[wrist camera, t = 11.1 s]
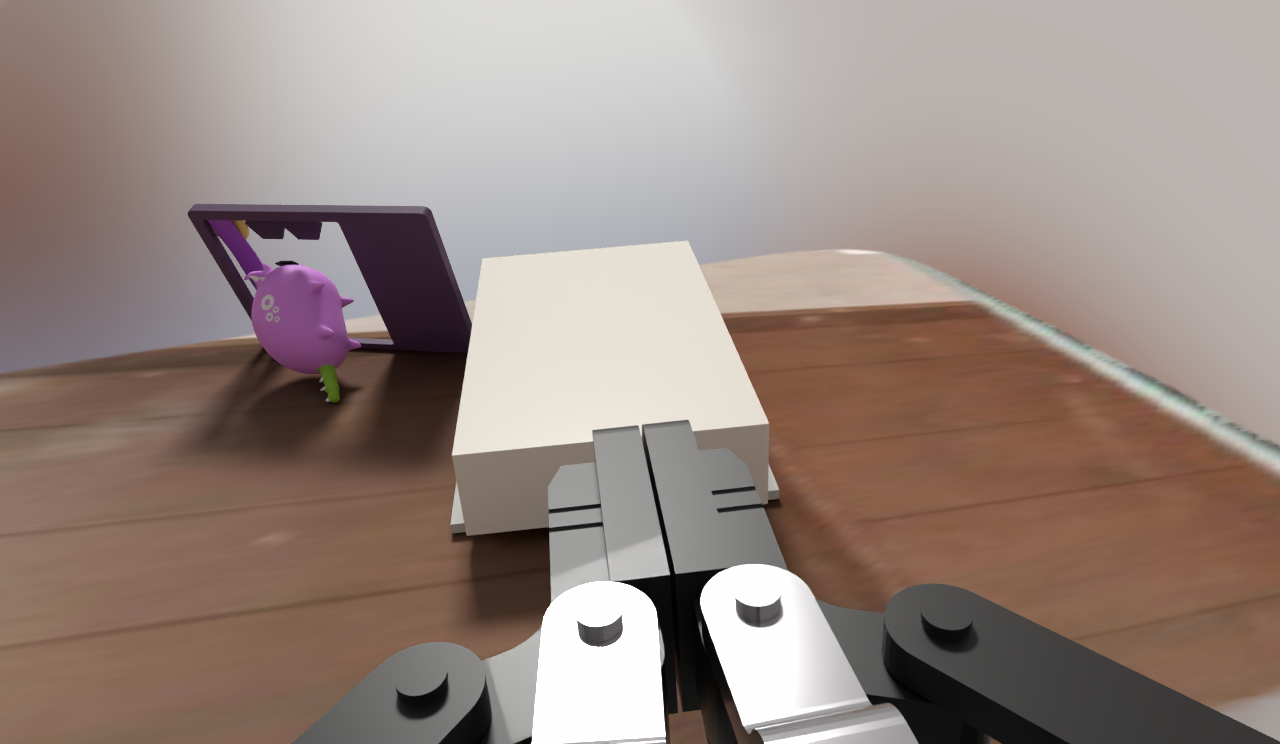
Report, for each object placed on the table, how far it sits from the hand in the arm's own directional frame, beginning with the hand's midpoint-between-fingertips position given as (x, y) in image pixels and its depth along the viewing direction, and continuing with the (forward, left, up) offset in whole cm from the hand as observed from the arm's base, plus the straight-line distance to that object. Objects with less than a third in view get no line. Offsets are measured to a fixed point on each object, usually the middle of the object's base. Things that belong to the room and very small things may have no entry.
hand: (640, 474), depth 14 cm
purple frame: (-13, +17, -7) cm, 23 cm away
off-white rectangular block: (-1, +8, -5) cm, 9 cm away
